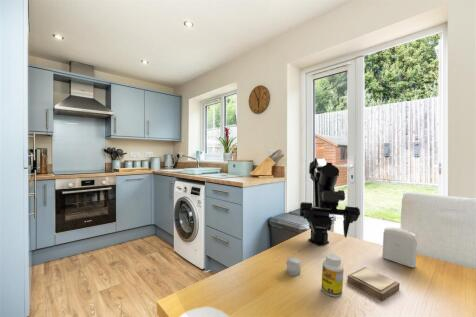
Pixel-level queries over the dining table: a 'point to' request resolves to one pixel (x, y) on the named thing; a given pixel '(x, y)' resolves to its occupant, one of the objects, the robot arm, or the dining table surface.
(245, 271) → the dining table surface
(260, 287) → the dining table surface
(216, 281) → the dining table surface
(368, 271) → the tan flat square block
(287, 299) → the dining table surface
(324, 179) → the robot arm
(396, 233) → the photo printer
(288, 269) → the white rounded knob
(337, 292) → the supplement bottle
